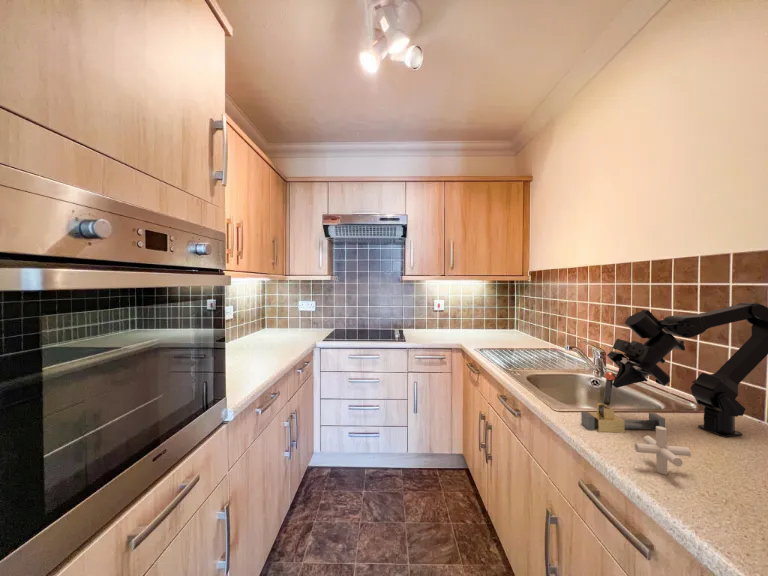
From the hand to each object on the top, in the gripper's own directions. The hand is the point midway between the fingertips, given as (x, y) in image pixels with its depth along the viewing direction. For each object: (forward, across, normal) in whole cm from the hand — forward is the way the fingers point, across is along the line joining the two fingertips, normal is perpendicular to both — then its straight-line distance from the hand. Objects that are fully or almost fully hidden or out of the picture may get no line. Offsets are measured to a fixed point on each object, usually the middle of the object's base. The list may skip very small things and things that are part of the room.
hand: (614, 386), depth 92 cm
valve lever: (+8, 0, +4) cm, 9 cm away
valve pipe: (+7, 0, +10) cm, 13 cm away
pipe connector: (+11, +22, +7) cm, 26 cm away
